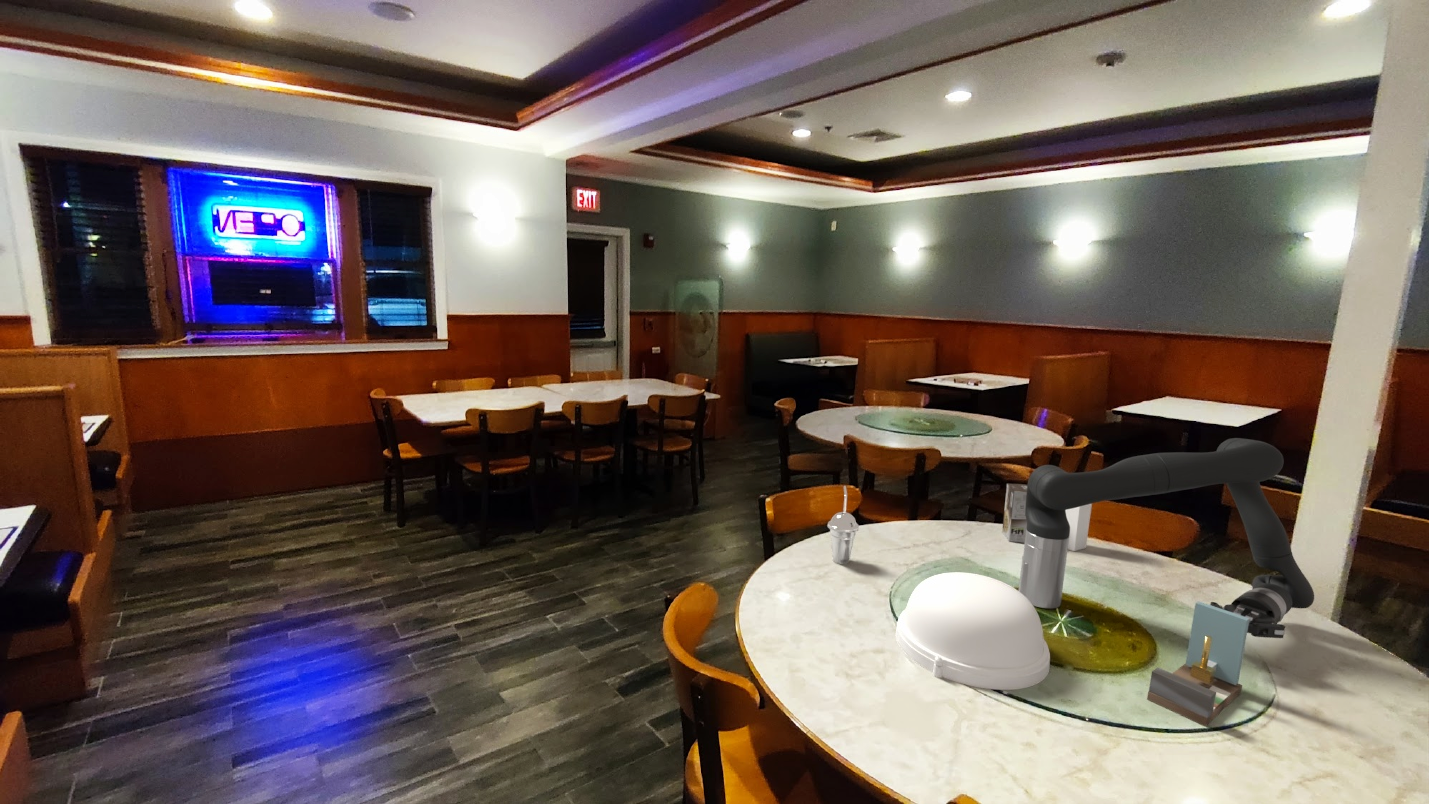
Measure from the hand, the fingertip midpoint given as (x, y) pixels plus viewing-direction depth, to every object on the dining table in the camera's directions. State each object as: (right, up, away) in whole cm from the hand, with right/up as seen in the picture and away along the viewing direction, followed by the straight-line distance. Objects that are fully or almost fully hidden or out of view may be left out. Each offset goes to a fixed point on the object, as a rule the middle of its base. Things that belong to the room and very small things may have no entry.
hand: (1231, 630), depth 127 cm
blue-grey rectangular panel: (-8, -7, -5) cm, 12 cm away
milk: (+5, +2, +66) cm, 66 cm away
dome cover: (-49, -6, +7) cm, 50 cm away
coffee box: (-9, +3, +72) cm, 73 cm away
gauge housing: (-13, -9, -8) cm, 18 cm away
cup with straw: (-68, +1, +49) cm, 84 cm away
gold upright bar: (-11, -7, -7) cm, 15 cm away
